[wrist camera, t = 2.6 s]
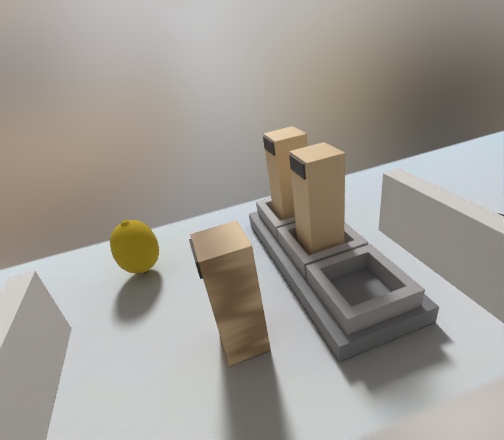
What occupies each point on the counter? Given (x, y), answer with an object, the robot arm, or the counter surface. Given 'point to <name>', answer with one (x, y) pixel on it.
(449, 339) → the counter surface
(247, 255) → the oak finger
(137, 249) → the lemon
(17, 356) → the robot arm
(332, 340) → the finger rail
